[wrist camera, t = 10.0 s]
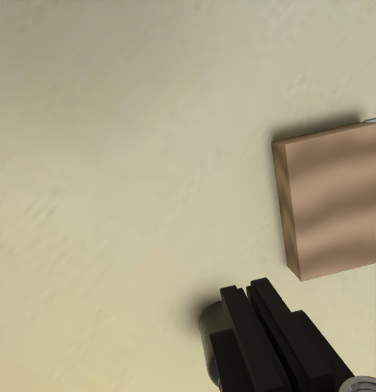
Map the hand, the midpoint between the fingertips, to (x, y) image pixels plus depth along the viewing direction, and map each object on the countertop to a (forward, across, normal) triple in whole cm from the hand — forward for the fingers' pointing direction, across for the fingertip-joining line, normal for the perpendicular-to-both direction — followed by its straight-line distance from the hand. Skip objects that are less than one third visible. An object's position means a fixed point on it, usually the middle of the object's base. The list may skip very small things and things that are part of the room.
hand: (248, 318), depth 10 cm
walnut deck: (+27, -18, +7) cm, 33 cm away
